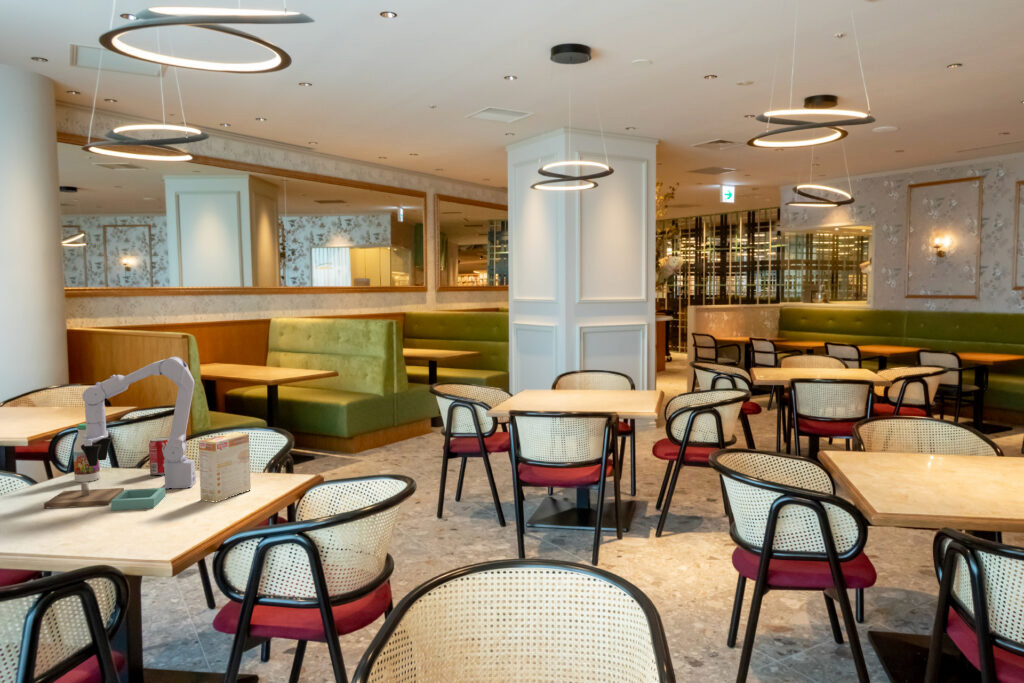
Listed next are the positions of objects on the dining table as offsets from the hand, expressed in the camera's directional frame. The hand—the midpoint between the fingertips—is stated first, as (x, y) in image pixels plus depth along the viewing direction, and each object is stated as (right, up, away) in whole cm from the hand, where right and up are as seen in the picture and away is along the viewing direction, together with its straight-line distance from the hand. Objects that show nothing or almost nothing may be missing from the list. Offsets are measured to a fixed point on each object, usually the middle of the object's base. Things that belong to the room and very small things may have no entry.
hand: (97, 462), depth 232 cm
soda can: (+9, -8, +24) cm, 27 cm away
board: (+1, -10, -8) cm, 13 cm away
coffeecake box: (+44, -10, -3) cm, 45 cm away
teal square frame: (+20, -11, -12) cm, 26 cm away
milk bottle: (-13, -9, +15) cm, 22 cm away
